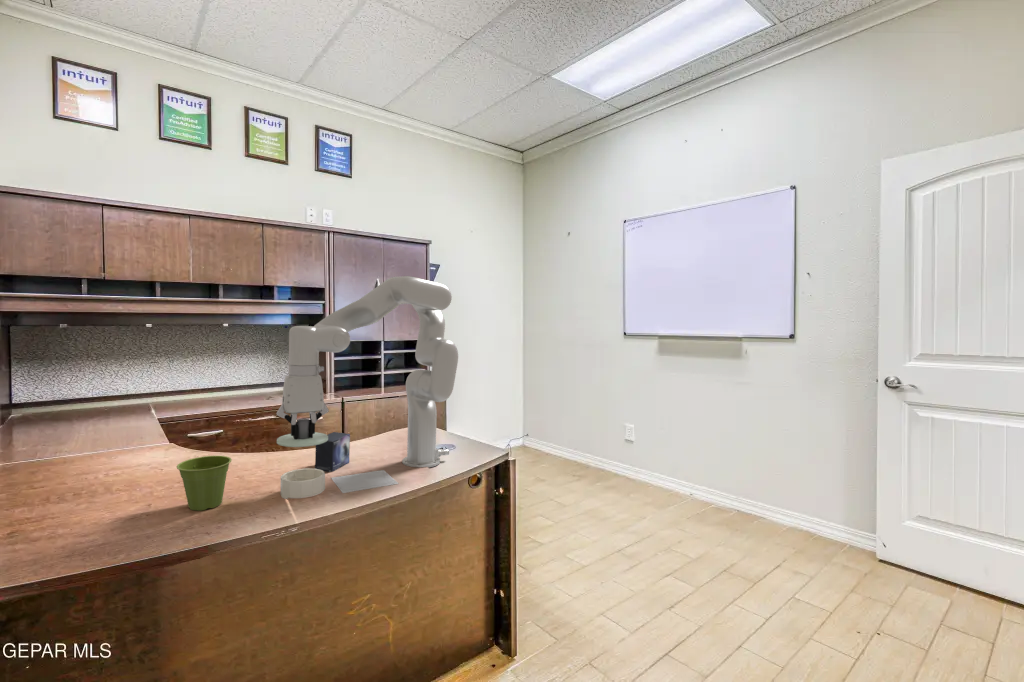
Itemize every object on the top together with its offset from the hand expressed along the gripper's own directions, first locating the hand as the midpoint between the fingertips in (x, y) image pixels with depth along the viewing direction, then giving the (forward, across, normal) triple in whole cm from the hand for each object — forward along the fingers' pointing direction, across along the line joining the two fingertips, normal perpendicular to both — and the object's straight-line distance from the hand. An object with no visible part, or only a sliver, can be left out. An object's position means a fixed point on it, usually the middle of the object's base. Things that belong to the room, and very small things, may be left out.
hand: (302, 436), depth 134 cm
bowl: (+16, 0, 0) cm, 16 cm away
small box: (+16, -12, -18) cm, 27 cm away
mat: (+16, -17, 0) cm, 23 cm away
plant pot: (+16, +23, -2) cm, 28 cm away
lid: (+1, 0, 0) cm, 1 cm away
